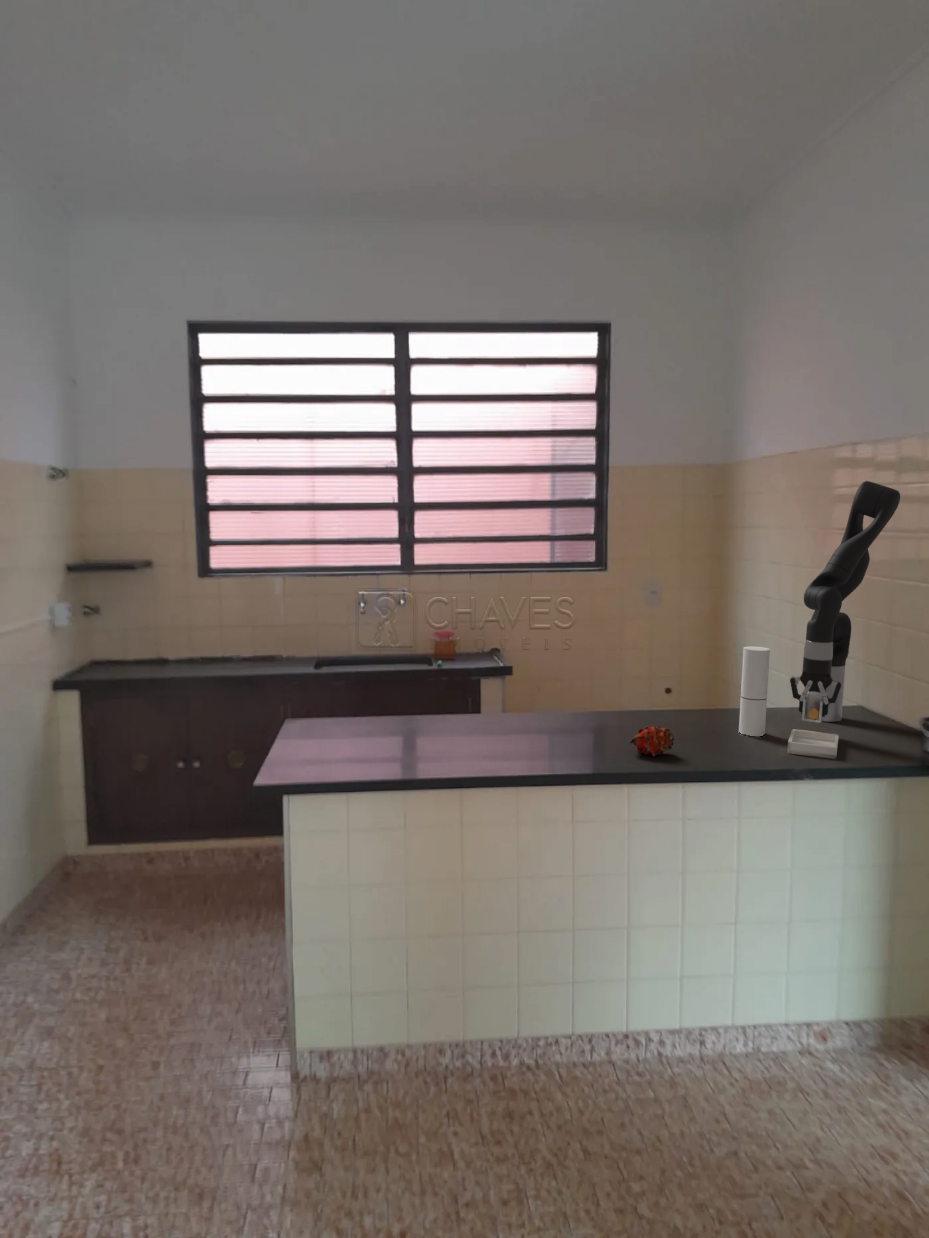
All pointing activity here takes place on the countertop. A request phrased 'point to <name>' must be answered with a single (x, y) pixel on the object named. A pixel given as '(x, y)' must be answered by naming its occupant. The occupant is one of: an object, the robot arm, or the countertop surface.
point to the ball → (813, 713)
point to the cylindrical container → (754, 690)
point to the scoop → (812, 707)
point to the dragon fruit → (653, 740)
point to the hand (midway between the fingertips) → (813, 714)
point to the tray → (813, 743)
